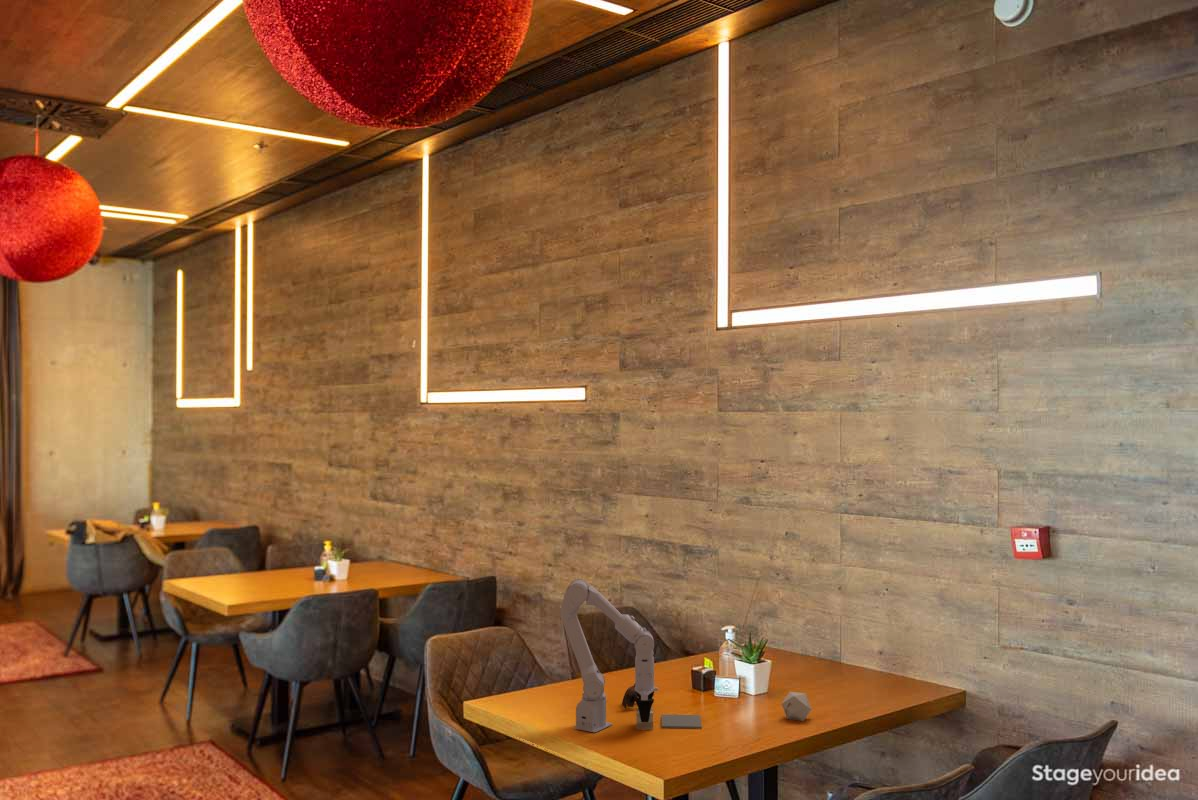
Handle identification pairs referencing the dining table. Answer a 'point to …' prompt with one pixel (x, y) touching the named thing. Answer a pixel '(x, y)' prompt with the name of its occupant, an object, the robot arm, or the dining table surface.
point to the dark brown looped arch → (630, 697)
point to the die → (796, 706)
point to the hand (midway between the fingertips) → (645, 718)
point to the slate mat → (681, 721)
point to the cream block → (644, 725)
